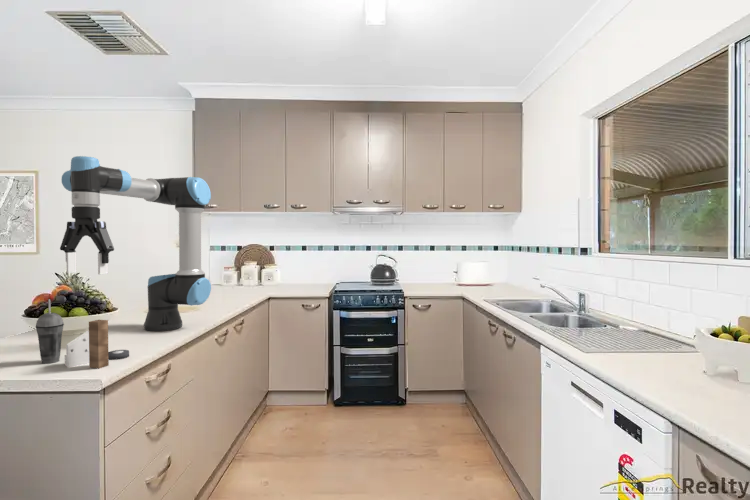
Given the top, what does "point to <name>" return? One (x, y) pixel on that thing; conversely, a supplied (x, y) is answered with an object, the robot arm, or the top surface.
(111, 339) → the top surface
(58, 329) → the beverage cup
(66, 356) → the white angled block
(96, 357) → the walnut post
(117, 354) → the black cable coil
